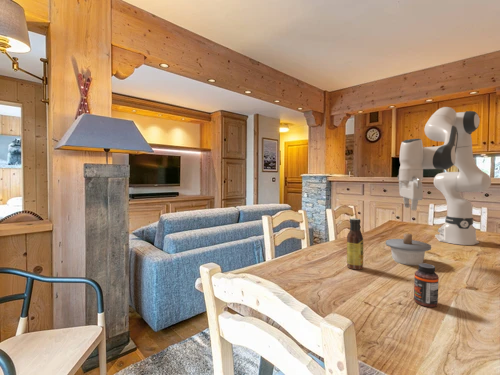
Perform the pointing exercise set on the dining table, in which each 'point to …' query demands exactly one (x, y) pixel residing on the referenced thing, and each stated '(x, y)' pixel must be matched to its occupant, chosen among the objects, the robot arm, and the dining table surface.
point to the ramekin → (407, 256)
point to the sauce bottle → (355, 245)
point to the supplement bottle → (426, 285)
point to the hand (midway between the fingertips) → (410, 208)
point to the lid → (408, 244)
